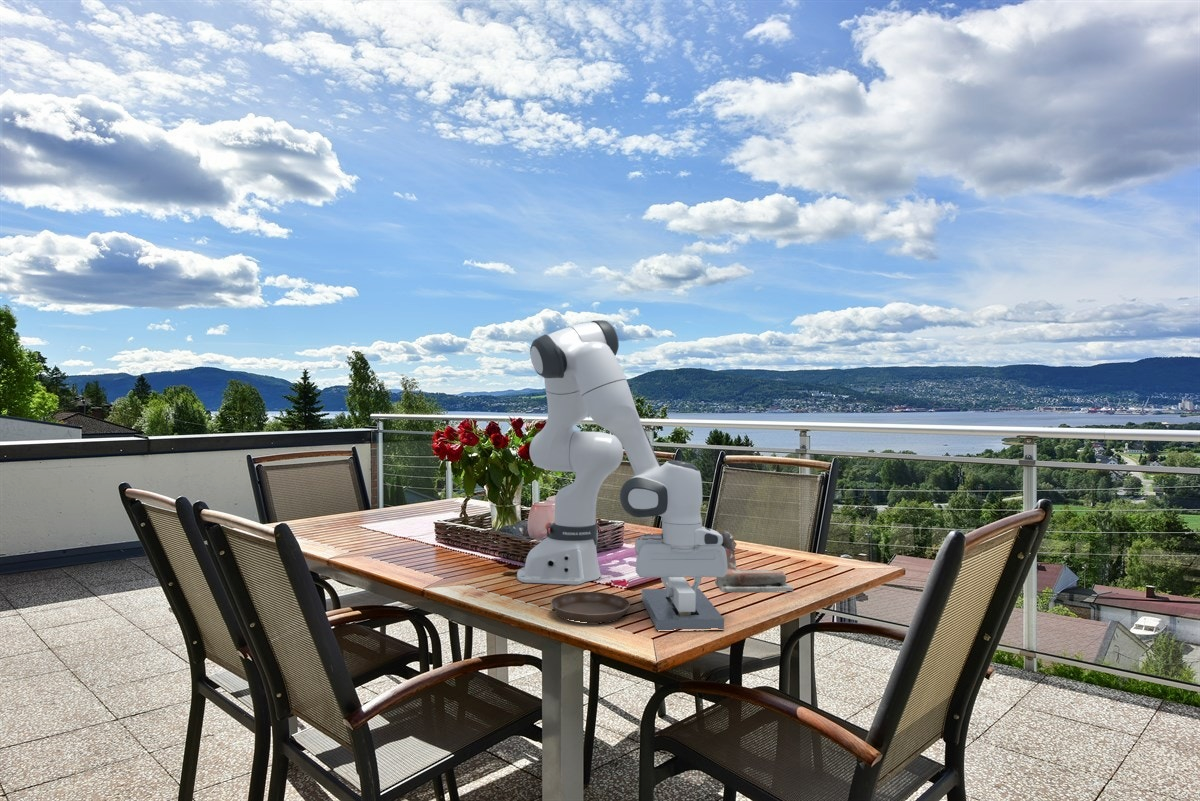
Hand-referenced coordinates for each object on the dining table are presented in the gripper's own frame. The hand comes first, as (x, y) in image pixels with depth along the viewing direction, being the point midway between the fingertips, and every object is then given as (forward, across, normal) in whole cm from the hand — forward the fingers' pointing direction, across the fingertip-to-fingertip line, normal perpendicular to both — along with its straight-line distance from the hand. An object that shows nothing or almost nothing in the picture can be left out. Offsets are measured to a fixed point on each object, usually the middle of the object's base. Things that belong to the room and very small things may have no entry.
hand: (680, 596), depth 163 cm
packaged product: (+5, +23, +24) cm, 34 cm away
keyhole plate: (+4, 0, +1) cm, 4 cm away
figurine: (+5, +19, +36) cm, 41 cm away
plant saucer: (+5, -20, +2) cm, 21 cm away
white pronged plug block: (+4, 0, 0) cm, 4 cm away
